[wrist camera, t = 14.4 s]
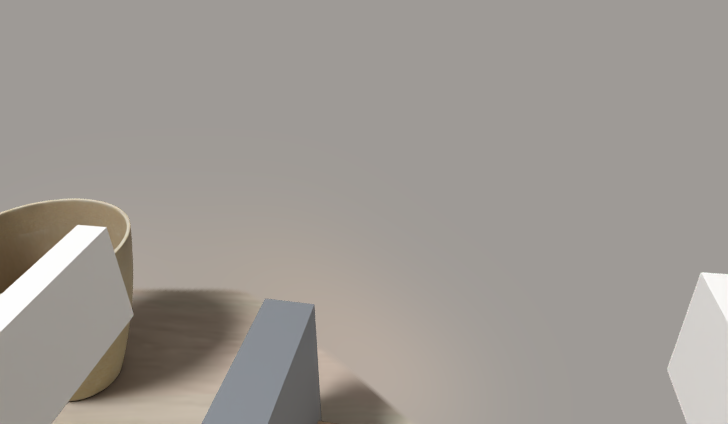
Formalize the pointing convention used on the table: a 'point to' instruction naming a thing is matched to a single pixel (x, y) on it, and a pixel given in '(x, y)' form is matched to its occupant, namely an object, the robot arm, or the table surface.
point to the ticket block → (273, 371)
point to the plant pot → (41, 233)
